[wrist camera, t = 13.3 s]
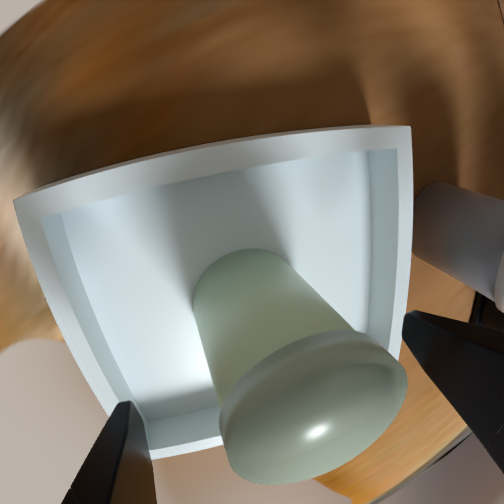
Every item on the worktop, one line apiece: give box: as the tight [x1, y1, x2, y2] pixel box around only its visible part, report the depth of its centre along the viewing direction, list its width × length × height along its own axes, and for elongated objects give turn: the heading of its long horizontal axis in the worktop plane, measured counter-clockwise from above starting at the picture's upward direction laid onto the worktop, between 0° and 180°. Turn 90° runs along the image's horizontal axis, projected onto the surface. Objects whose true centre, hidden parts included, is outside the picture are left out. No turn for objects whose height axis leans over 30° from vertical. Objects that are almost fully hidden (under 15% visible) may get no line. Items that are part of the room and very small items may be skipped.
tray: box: [13, 124, 413, 460], centre depth 12 cm, size 13×14×2 cm
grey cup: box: [411, 182, 504, 313], centre depth 12 cm, size 5×5×7 cm
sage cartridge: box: [193, 249, 408, 485], centre depth 10 cm, size 5×5×7 cm
